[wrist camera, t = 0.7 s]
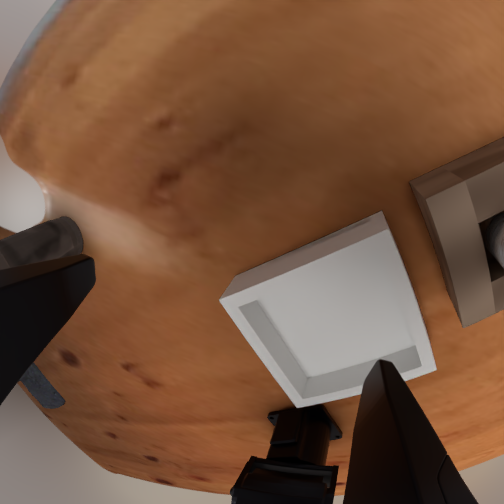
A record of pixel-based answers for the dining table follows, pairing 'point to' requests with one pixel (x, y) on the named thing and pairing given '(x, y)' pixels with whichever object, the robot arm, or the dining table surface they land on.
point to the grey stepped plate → (41, 388)
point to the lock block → (466, 228)
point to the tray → (332, 313)
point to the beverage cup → (41, 243)
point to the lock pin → (494, 236)
